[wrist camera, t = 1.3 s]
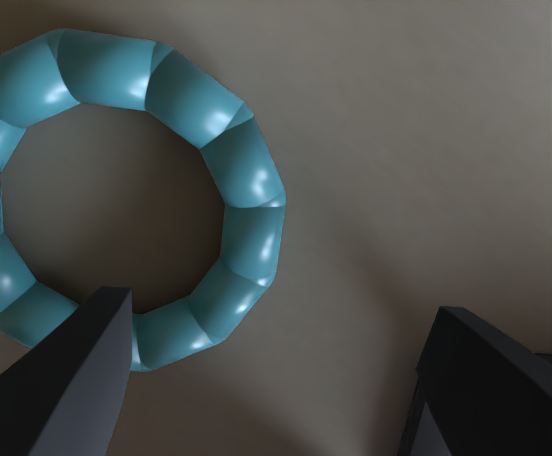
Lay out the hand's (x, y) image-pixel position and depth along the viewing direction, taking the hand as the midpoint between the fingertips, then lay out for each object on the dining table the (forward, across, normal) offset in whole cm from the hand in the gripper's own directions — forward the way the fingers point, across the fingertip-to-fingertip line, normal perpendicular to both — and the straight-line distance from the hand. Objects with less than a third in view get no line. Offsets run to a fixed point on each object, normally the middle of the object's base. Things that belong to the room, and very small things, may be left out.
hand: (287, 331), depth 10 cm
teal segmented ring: (+8, +6, +2) cm, 11 cm away
